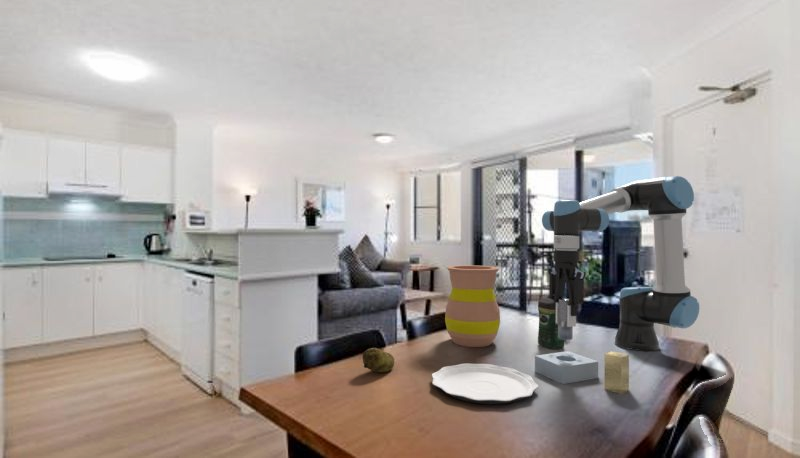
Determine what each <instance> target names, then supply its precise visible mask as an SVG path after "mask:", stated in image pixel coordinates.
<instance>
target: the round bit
mask: <svg viewBox="0 0 800 458" xmlns="http://www.w3.org/2000/svg"><path fill="white" fill-rule="evenodd" d="M568 304H570V303H569V298H562V299H558V338H559V339H563V340H564V341H572V340H573V337H574V336H573V327H574V326H573V327H568V326H567V305H568Z"/></svg>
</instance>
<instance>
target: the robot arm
mask: <svg viewBox="0 0 800 458" xmlns="http://www.w3.org/2000/svg"><path fill="white" fill-rule="evenodd" d="M694 201H695V193H694V190H693V186H692V185H691V183H690V182H689V181H688V179H686V178H685V177H683V176H679V175H677V176H676V175H673V176H671V175H670V176H663V177H662V176H661V177H655V178H647V179H638V180H635V181H632V182H630V183H626V184H624V185H621V186H618V187H616V188H613V189H611V190H610V191H609V192H608V193H605V194H602V195H598V196H596V197H593V198H590V199H586V200H584V201H581V202H580V201H579V200H577V199H575V200H574V199H569V200H568V199H566V200H564V199H561V200H557V201H556V202H555V203H554V207H553V209H552V210H551V209H550V210H546V211H545V212H544V213H543V215H542V217H541V224H542V226H543V228H544V230H545V231H546V230H547V231H550V232H553V249H555V250H553V255H552V256H553V262H554V263H555V264H554V267H551V268H548V269H547V272H548V277H549V278H548V280H549V282H548V284H549V287H548V288H549V289H548V290H549V294H548V295H549V298H550V299H552V300H554V302H555V312H556V323H557V324H558V299H564V292H565V286H566V289H567V295H568V299H569V303H570V304H568V305H567V326H568V327H576V325H577V320H576V319H577V316H578V306H579V305H583V304H584V295H585V294H584V292H585V291H584V290H585V289H584V288H585V278H586V275H587V274H586V271H581V270H580V269H579V267H578V264H579V262H580V251H579V250H580V234H581V233H580V232H593V233H594V232H595V233H597V232H602V231H604V230H606V229H607V228H608V226H609V223H610V216H609V215H611V214H614V213H620V214H622V213H625V212H628V211H629V212H630V211H632V212H633V211H647V213H648V217H650V218H651V219H652V220H653V234H654V235H653V236H654V237H653V238H654V255H655V257H654V258H655V273H656V275H655V276H656V277H655V278H656V285H654V286H653V287H652V286H635V287H633V286H632V287H623V288H621V290H620V294H619V326H618V329H617V331H616V334H615V336H614V345H616V346H618V347H620V348H624V349H627V350H633V351H640V352H642V351H643V352H652V351H653V352H654V351H658V350H659V349H660V341H659V340H658V336H657V333H656V331H655V324H658V325H663V326H667V327H668V326H669V327H671V328H679V329H689V328H690V327H691V326H693V325H694V324H695V322H696V321H697V319H698V317H699V314H700V303H699V301H698V299H697V298H696V297H694V296H691V295H692V294H691V289H690V288H689V287H687V285H686V279H685V265H684V264H685V259H684V241H683V223H682V222H683V217H684V216H686V215H687V209H689V208H691V207H692V205H693V204H694V203H693V202H694Z"/></svg>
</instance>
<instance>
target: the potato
mask: <svg viewBox="0 0 800 458" xmlns="http://www.w3.org/2000/svg"><path fill="white" fill-rule="evenodd" d="M362 363H363V367H364V369H368V370H369V371H372V372H374V371H375V372H377V373H382V374H383V373H387V372H390V371H391V370H392V369H393V368H394V365H395V358H394V356H393V354H391V353H390V352H387V351H386V352H385V351H384V350H382V349H380V348H379V347H378V348H377V347H370V348H367V349H366V350H365V351H363V353H362Z"/></svg>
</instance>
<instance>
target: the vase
mask: <svg viewBox="0 0 800 458" xmlns="http://www.w3.org/2000/svg"><path fill="white" fill-rule="evenodd" d="M445 268H446V269H447V270H448V271H449V279H450V283H451V288H452V289H451V290H450V295H449V298H448V300H447V303H446V306H445V314H444V315H445V318H444V321H445V326H446V330H447V334H448V335H449V337H450V339H451V340H452V342H453V343H454V344H455V345H458V346H461V347H467V348H468V347H469V348H484V347H489V346H490V345H492V343H493V342H494V340H495V339H496V337H497V335H498V332H499V329H500V324H501V312H500V307H499V304H498V302H497V301H498V300H497V298H496V295H495V292H494V291H495V290H494V287H495V284H496V283H495V282H496V279H497V272H498V271H499V270H500V269H501V268H500V267H498V266H491V265H489V266H488V265H470V264H469V265H464V264H463V265H448V266H446V267H445Z"/></svg>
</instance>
